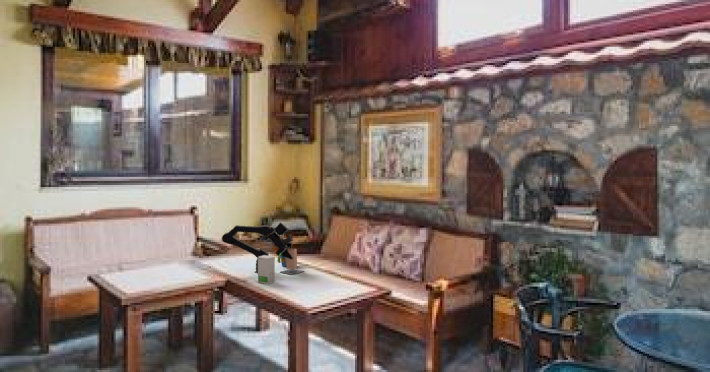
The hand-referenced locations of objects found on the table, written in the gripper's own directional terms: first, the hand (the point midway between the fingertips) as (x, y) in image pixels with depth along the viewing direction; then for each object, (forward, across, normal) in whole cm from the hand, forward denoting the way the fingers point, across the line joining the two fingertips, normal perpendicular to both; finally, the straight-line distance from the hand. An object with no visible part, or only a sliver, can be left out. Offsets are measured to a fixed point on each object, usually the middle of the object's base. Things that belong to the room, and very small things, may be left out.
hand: (293, 258), depth 338 cm
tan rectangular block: (+4, 0, +6) cm, 7 cm away
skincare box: (0, -26, +13) cm, 29 cm away
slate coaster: (+6, 0, +8) cm, 9 cm away
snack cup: (0, +17, +14) cm, 22 cm away
